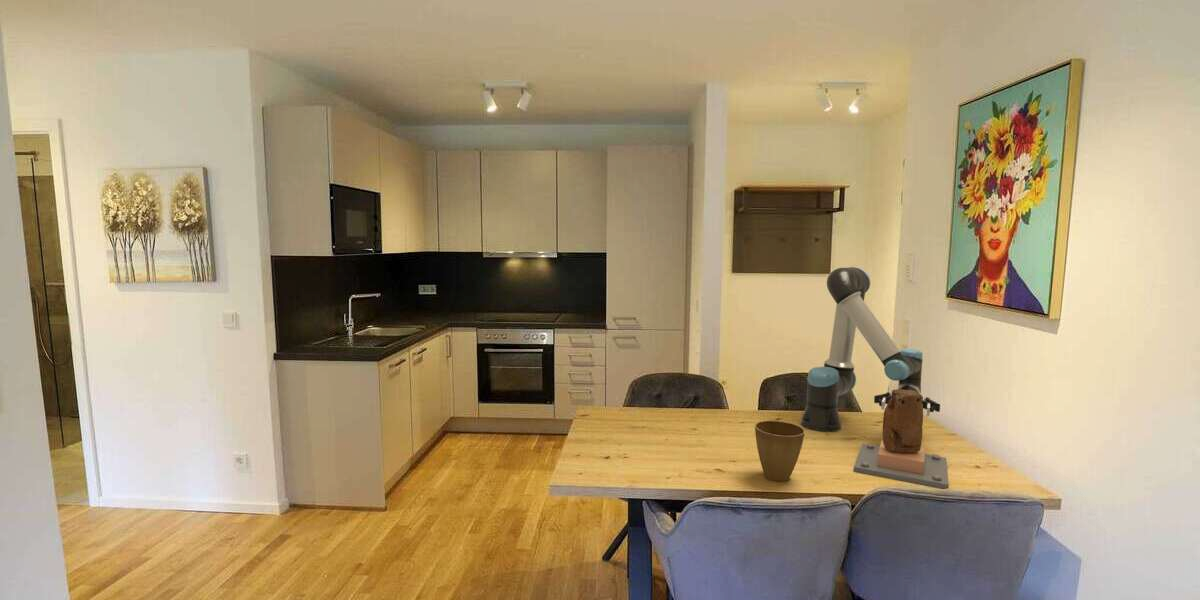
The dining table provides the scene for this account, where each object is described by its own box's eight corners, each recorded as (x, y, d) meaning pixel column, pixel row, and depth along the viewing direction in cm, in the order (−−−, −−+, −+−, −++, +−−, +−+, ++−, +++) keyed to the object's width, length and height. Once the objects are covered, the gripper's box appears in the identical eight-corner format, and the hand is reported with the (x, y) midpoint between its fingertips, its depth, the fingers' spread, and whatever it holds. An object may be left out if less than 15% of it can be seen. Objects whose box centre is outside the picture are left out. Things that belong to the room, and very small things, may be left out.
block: (909, 446, 188) (913, 388, 187) (923, 454, 181) (927, 393, 179) (878, 446, 188) (881, 388, 186) (891, 454, 180) (894, 394, 179)
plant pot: (750, 482, 170) (752, 431, 169) (755, 465, 184) (757, 418, 183) (802, 490, 165) (804, 438, 164) (803, 472, 179) (805, 423, 178)
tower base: (853, 471, 180) (854, 454, 180) (861, 447, 202) (862, 432, 202) (948, 489, 167) (949, 471, 167) (945, 461, 189) (946, 446, 189)
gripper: (946, 410, 201) (947, 425, 183) (870, 400, 214) (864, 413, 196) (948, 390, 200) (949, 403, 182) (871, 381, 213) (865, 392, 195)
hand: (905, 408), depth 189 cm, fingers open, 13 cm apart
